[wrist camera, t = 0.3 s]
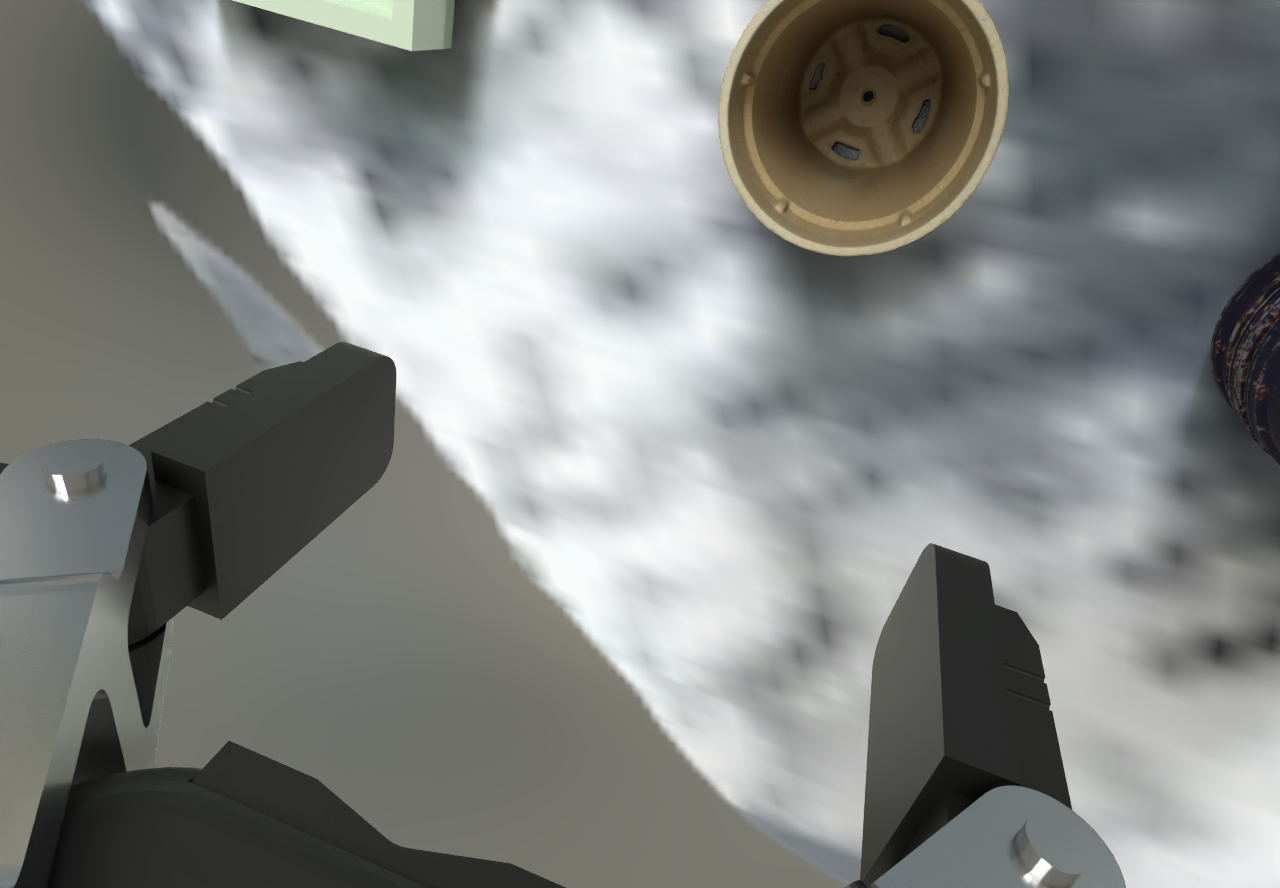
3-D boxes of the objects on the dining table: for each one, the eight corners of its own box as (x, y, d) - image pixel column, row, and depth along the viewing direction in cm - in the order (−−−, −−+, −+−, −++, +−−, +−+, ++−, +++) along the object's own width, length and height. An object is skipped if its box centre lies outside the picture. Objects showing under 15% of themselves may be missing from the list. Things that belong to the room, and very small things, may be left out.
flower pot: (762, 214, 37) (726, 262, 30) (751, -14, 33) (707, -22, 26) (977, 201, 34) (995, 251, 27) (995, -51, 30) (1023, -72, 23)
